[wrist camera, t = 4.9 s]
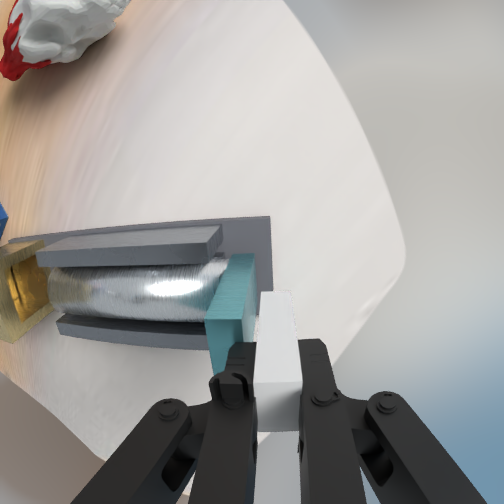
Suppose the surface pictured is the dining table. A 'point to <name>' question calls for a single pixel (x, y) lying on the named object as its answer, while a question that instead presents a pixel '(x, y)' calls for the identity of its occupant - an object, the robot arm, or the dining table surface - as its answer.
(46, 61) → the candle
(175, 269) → the bolt
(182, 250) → the guide
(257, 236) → the mat
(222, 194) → the dining table surface
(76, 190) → the dining table surface
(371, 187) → the dining table surface
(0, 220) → the milk carton
